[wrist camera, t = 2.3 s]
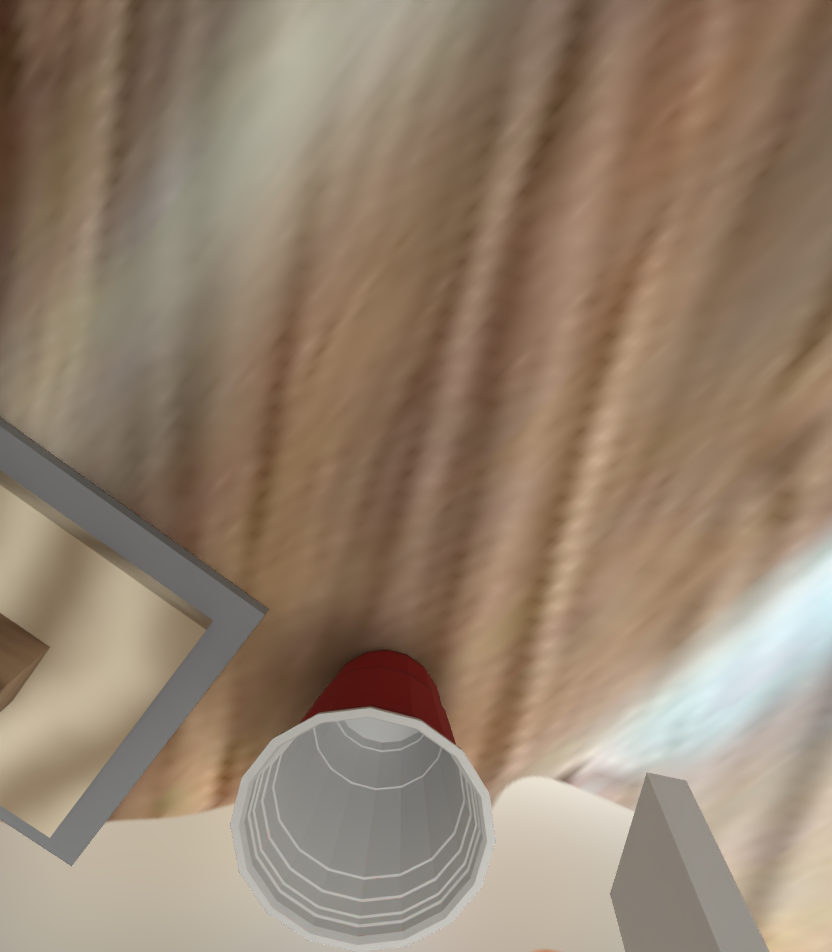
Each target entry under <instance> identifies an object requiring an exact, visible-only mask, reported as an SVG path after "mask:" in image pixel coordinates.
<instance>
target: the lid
mask: <svg viewBox="0 0 832 952" xmlns="http://www.w3.org/2000/svg"><path fill="white" fill-rule="evenodd" d="M212 622H213V620H212V619H210V618H209V617H207V616H206V615H205V614H203V613H202V612H200V611H199V610H197V609H196V608H195V607H193V606H192V605H190V604H189V603H188V602H186V601H185V600H183V599H182V598H180V597H179V596H178V595H176V594H175V593H173V592H172V591H171V590H169V589H168V588H166V587H165V586H163V585H162V584H161V583H159V582H158V581H156V580H155V579H154V578H152V577H151V576H149V575H148V574H146V573H145V572H144V571H142V570H141V569H139V568H138V567H137V566H135V565H134V564H132V563H131V562H130V561H128V560H127V559H125V558H124V557H122V556H121V555H120V554H118V553H117V552H115V551H114V550H113V549H111V548H110V547H108V546H107V545H105V544H104V543H103V542H101V541H100V540H98V539H97V538H96V537H94V536H93V535H91V534H90V533H88V532H87V531H86V530H84V529H83V528H81V527H80V526H79V525H77V524H76V523H74V522H73V521H71V520H70V519H69V518H67V517H66V516H64V515H63V514H62V513H60V512H59V511H57V510H56V509H55V508H53V507H52V506H50V505H49V504H47V503H46V502H45V501H43V500H42V499H40V498H39V497H38V496H36V495H35V494H33V493H32V492H30V491H29V490H28V489H26V488H25V487H23V486H22V485H21V484H19V483H18V482H16V481H15V480H13V479H12V478H11V477H9V476H8V475H6V474H5V473H4V472H2V471H1V470H0V806H2V807H3V808H5V809H6V810H8V811H10V812H11V813H13V814H14V815H16V816H17V817H19V818H20V819H22V820H23V821H25V822H26V823H28V824H29V825H31V826H32V827H34V828H35V829H37V830H38V831H40V832H41V833H43V834H45V835H46V836H48V837H49V838H50V837H51V836H52V834H53V833H54V832H55V830H56V829H57V828H58V826H59V825H60V824H61V822H62V821H63V820H64V818H65V817H66V816H67V814H68V813H69V812H70V810H71V809H72V808H73V806H74V805H75V804H76V802H77V801H78V800H79V798H80V797H81V796H82V795H83V793H84V792H85V791H86V789H87V788H88V787H89V785H90V784H91V783H92V781H93V780H94V779H95V777H96V776H97V775H98V773H99V772H100V771H101V769H102V768H103V767H104V765H105V764H106V763H107V761H108V760H109V759H110V757H111V756H112V755H113V753H114V752H115V751H116V749H117V748H118V747H119V745H120V744H121V743H122V741H123V740H124V739H125V737H126V736H127V735H128V733H129V732H130V731H131V729H132V728H133V727H134V725H135V724H136V723H137V721H138V720H139V719H140V717H141V716H142V715H143V713H144V712H145V711H146V709H147V708H148V707H149V706H150V704H151V703H152V702H153V700H154V699H155V698H156V696H157V695H158V694H159V692H160V691H161V690H162V688H163V687H164V686H165V684H166V683H167V682H168V680H169V679H170V678H171V676H172V675H173V674H174V672H175V671H176V670H177V668H178V667H179V666H180V664H181V663H182V662H183V660H184V659H185V658H186V656H187V655H188V654H189V652H190V651H191V650H192V648H193V647H194V646H195V644H196V643H197V642H198V640H199V639H200V638H201V636H202V635H203V634H204V632H205V631H206V630H207V628H208V627H209V626H210V624H211V623H212Z"/></svg>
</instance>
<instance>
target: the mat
mask: <svg viewBox="0 0 832 952" xmlns="http://www.w3.org/2000/svg"><path fill="white" fill-rule="evenodd" d="M0 470H1V471H2V472H4V473H5V474H6V475H8V476H9V477H11V478H12V479H13V480H15V481H16V482H18V483H19V484H21V485H22V486H23V487H25V488H26V489H28V490H29V491H30V492H32V493H33V494H35V495H36V496H38V497H39V498H40V499H42V500H43V501H45V502H46V503H47V504H49V505H50V506H52V507H53V508H55V509H56V510H57V511H59V512H60V513H62V514H63V515H64V516H66V517H67V518H69V519H70V520H71V521H73V522H74V523H76V524H77V525H79V526H80V527H81V528H83V529H84V530H86V531H87V532H88V533H90V534H91V535H93V536H94V537H96V538H97V539H98V540H100V541H101V542H103V543H104V544H105V545H107V546H108V547H110V548H111V549H113V550H114V551H115V552H117V553H118V554H120V555H121V556H122V557H124V558H125V559H127V560H128V561H130V562H131V563H132V564H134V565H135V566H137V567H138V568H139V569H141V570H142V571H144V572H145V573H146V574H148V575H149V576H151V577H152V578H154V579H155V580H156V581H158V582H159V583H161V584H162V585H163V586H165V587H166V588H168V589H169V590H171V591H172V592H173V593H175V594H176V595H178V596H179V597H180V598H182V599H183V600H185V601H186V602H188V603H189V604H190V605H192V606H193V607H195V608H196V609H197V610H199V611H200V612H202V613H203V614H205V615H206V616H207V617H209V618H210V619H212V620H213V622H212V623H211V624H210V626H209V627H208V628H207V630H206V631H205V632H204V634H203V635H202V636H201V638H200V639H199V640H198V642H197V643H196V644H195V646H194V647H193V648H192V650H191V651H190V652H189V654H188V655H187V656H186V658H185V659H184V660H183V662H182V663H181V664H180V666H179V667H178V668H177V670H176V671H175V672H174V674H173V675H172V676H171V678H170V679H169V680H168V682H167V683H166V684H165V686H164V687H163V688H162V690H161V691H160V692H159V694H158V695H157V696H156V698H155V699H154V700H153V702H152V703H151V704H150V706H149V707H148V708H147V709H146V711H145V712H144V713H143V715H142V716H141V717H140V719H139V720H138V721H137V723H136V724H135V725H134V727H133V728H132V729H131V731H130V732H129V733H128V735H127V736H126V737H125V739H124V740H123V741H122V743H121V744H120V745H119V747H118V748H117V749H116V751H115V752H114V753H113V755H112V756H111V757H110V759H109V760H108V761H107V763H106V764H105V765H104V767H103V768H102V769H101V771H100V772H99V773H98V775H97V776H96V777H95V779H94V780H93V781H92V783H91V784H90V785H89V787H88V788H87V789H86V791H85V792H84V793H83V795H82V796H81V797H80V798H79V800H78V801H77V802H76V804H75V805H74V806H73V808H72V809H71V810H70V812H69V813H68V814H67V816H66V817H65V818H64V820H63V821H62V822H61V824H60V825H59V826H58V828H57V829H56V830H55V832H54V833H53V834H52V836H51V837H50V838H49V837H48V836H46V835H45V834H43V833H41V832H40V831H38V830H37V829H35V828H34V827H32V826H31V825H29V824H28V823H26V822H25V821H23V820H22V819H20V818H19V817H17V816H16V815H14V814H13V813H11V812H10V811H8V810H6V809H5V808H3V807H2V806H0V820H2V821H3V822H5V823H6V824H8V825H9V826H11V827H13V828H14V829H16V830H17V831H19V832H20V833H22V834H23V835H25V836H26V837H28V838H30V839H31V840H32V841H34V842H36V843H37V844H38V845H40V846H42V847H43V848H45V849H46V850H48V851H49V852H51V853H52V854H54V855H55V856H57V857H58V858H60V859H62V860H63V861H65V862H66V863H67V864H69V865H70V866H72V865H73V864H74V862H75V861H76V860H77V858H78V857H79V856H80V855H81V853H82V852H83V851H84V849H85V848H86V847H87V845H88V844H89V843H90V841H91V840H92V839H93V838H94V836H95V835H96V834H97V832H98V831H99V830H100V829H101V827H102V826H103V825H104V823H105V822H106V821H107V820H108V818H109V817H110V816H111V814H112V813H113V812H114V810H115V809H116V808H117V807H118V805H119V804H120V803H121V801H122V800H123V799H124V797H125V796H126V795H127V794H128V792H129V791H130V790H131V788H132V787H133V786H134V784H135V783H136V782H137V781H138V779H139V778H140V777H141V775H142V774H143V773H144V771H145V770H146V769H147V768H148V766H149V765H150V764H151V762H152V761H153V760H154V758H155V757H156V756H157V755H158V753H159V752H160V751H161V749H162V748H163V747H164V745H165V744H166V743H167V742H168V740H169V739H170V738H171V736H172V735H173V734H174V732H175V731H176V730H177V729H178V727H179V726H180V725H181V723H182V722H183V721H184V719H185V718H186V717H187V716H188V714H189V713H190V712H191V710H192V709H193V708H194V707H195V705H196V704H197V703H198V701H199V700H200V699H201V697H202V696H203V695H204V694H205V692H206V691H207V690H208V688H209V687H210V686H211V684H212V683H213V682H214V681H215V679H216V678H217V677H218V675H219V674H220V673H221V671H222V670H223V669H224V668H225V666H226V665H227V664H228V662H229V661H230V660H231V658H232V657H233V656H234V655H235V653H236V652H237V651H238V649H239V648H240V647H241V645H242V644H243V643H244V642H245V640H246V639H247V638H248V636H249V635H250V634H251V632H252V631H253V630H254V629H255V627H256V626H257V625H258V623H259V622H260V621H261V619H262V618H263V617H264V616H265V614H266V612H267V611H268V608H266V607H265V606H263V605H262V604H261V603H259V602H258V601H256V600H255V599H254V598H252V597H251V596H249V595H248V594H247V593H245V592H244V591H242V590H241V589H240V588H238V587H237V586H235V585H234V584H233V583H231V582H230V581H228V580H227V579H226V578H224V577H223V576H221V575H220V574H219V573H217V572H216V571H214V570H213V569H212V568H210V567H209V566H207V565H206V564H205V563H203V562H202V561H200V560H199V559H198V558H196V557H195V556H193V555H192V554H191V553H189V552H188V551H186V550H185V549H184V548H182V547H181V546H179V545H178V544H177V543H175V542H174V541H172V540H171V539H170V538H168V537H167V536H165V535H164V534H163V533H161V532H160V531H158V530H157V529H156V528H154V527H153V526H151V525H150V524H149V523H147V522H146V521H144V520H143V519H142V518H140V517H139V516H137V515H136V514H135V513H133V512H132V511H130V510H129V509H128V508H126V507H125V506H123V505H122V504H121V503H119V502H118V501H116V500H115V499H114V498H112V497H111V496H109V495H108V494H107V493H105V492H104V491H102V490H101V489H100V488H98V487H97V486H95V485H94V484H93V483H91V482H90V481H88V480H87V479H86V478H84V477H83V476H81V475H80V474H79V473H77V472H76V471H74V470H73V469H72V468H70V467H69V466H67V465H66V464H65V463H63V462H62V461H60V460H59V459H58V458H56V457H55V456H53V455H52V454H51V453H49V452H48V451H46V450H45V449H44V448H42V447H41V446H39V445H38V444H37V443H35V442H34V441H32V440H31V439H30V438H28V437H27V436H25V435H24V434H23V433H21V432H20V431H18V430H17V429H16V428H14V427H13V426H11V425H10V424H9V423H7V422H6V421H4V420H3V419H2V418H0Z"/></svg>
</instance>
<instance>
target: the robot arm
mask: <svg viewBox="0 0 832 952" xmlns="http://www.w3.org/2000/svg"><path fill="white" fill-rule="evenodd" d="M610 895H611V899H612V903H613V906H614V910H615V914H616V918H617V922H618V925H619V929H620V933H621V936H622V940H623V944H624V948H625V951H626V952H769V950H768V948H767V946H766V944H765V942H764V940H763V938H762V935H761V933H760V931H759V929H758V927H757V925H756V923H755V921H754V919H753V917H752V915H751V913H750V911H749V909H748V907H747V905H746V903H745V901H744V898H743V896H742V894H741V892H740V890H739V888H738V886H737V884H736V882H735V880H734V878H733V876H732V874H731V872H730V870H729V868H728V866H727V864H726V862H725V859H724V857H723V855H722V853H721V851H720V849H719V847H718V845H717V843H716V841H715V839H714V837H713V835H712V833H711V831H710V829H709V827H708V825H707V823H706V820H705V818H704V816H703V814H702V812H701V810H700V808H699V806H698V804H697V802H696V800H695V798H694V796H693V794H692V792H691V790H690V788H689V786H688V783H687V781H685V780H680V779H676V778H671V777H666V776H661V775H657V774H652V773H646V777H645V780H644V783H643V787H642V790H641V793H640V797H639V800H638V803H637V807H636V810H635V813H634V816H633V820H632V823H631V826H630V830H629V833H628V837H627V840H626V843H625V846H624V850H623V853H622V856H621V860H620V863H619V866H618V870H617V873H616V876H615V879H614V883H613V886H612V889H611V893H610Z"/></svg>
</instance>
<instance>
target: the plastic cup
mask: <svg viewBox="0 0 832 952" xmlns="http://www.w3.org/2000/svg"><path fill="white" fill-rule="evenodd" d="M230 827H231V832H232V838H233V843H234V848H235V854H236V859H237V864H238V869H239V873H240V874H241V876H242V877H243V879H244V880H245V882H246V883H247V885H248V886H249V888H250V889H251V891H252V892H253V894H254V895H255V897H256V898H257V899H258V901H259V902H260V904H261V905H262V907H263V908H264V910H265V911H266V912H267V913H268V914H270V915H271V916H273V917H274V918H275V919H277V920H278V921H280V922H281V923H283V924H284V925H286V926H287V927H289V928H290V929H291V930H293V931H295V932H296V933H297V934H299V935H300V936H302V937H303V938H305V939H306V940H308V941H312V942H317V943H321V944H325V945H329V946H333V947H337V948H342V949H345V950H349V951H353V952H363V951H371V950H381V949H390V948H398V947H406V946H408V945H411V944H413V943H415V942H416V941H418V940H420V939H422V938H424V937H426V936H428V935H430V934H432V933H434V932H436V931H438V930H440V929H442V928H444V927H446V926H448V925H449V924H451V923H452V922H453V921H454V919H455V918H456V917H457V916H458V915H459V914H460V912H461V911H462V910H463V909H464V908H465V906H466V905H467V904H468V903H469V902H470V901H471V899H472V898H473V897H474V896H475V895H476V894H477V892H478V891H479V890H480V889H481V888H482V885H483V882H484V879H485V876H486V872H487V869H488V866H489V862H490V859H491V856H492V852H493V850H494V846H495V843H496V839H495V832H494V824H493V817H492V809H491V801H490V794H489V792H488V791H487V789H486V787H485V786H484V784H483V783H482V781H481V779H480V778H479V776H478V774H477V773H476V771H475V770H474V768H473V766H472V765H471V763H470V761H469V760H468V758H467V757H466V755H465V753H464V752H463V750H462V749H461V748H460V747H458V746H457V745H456V743H455V740H454V737H453V734H452V731H451V727H450V724H449V721H448V718H447V715H446V712H445V710H444V708H443V707H442V705H441V701H440V697H439V694H438V690H437V687H436V686H435V684H434V682H433V681H432V679H431V678H430V676H429V674H428V673H427V671H426V670H425V668H424V667H423V666H422V665H420V664H419V663H418V662H416V661H415V660H413V659H412V658H411V657H409V656H408V655H405V654H401V653H397V652H394V651H390V650H382V651H373V652H367V653H365V654H363V655H361V656H359V657H357V658H355V659H353V660H351V661H350V662H349V663H347V664H346V665H345V666H344V667H343V668H342V670H341V671H340V672H339V673H338V675H337V676H336V677H335V678H334V680H333V681H332V682H331V683H330V684H329V686H328V687H327V688H326V689H325V691H324V692H323V693H322V694H321V696H320V697H319V698H318V699H317V701H316V702H315V703H314V705H313V706H312V707H311V709H310V710H309V711H308V713H307V714H306V716H305V717H304V718H303V720H302V721H301V722H300V723H299V724H298V725H296V726H294V727H292V728H291V729H289V730H287V731H285V732H283V733H281V734H280V735H278V736H276V737H275V738H273V739H272V740H271V741H270V743H269V744H268V745H267V746H266V748H265V749H264V750H263V752H262V753H261V754H260V755H259V757H258V758H257V759H256V760H255V762H254V763H253V764H252V766H251V767H250V768H249V769H248V771H247V772H246V773H245V775H244V776H243V777H242V778H241V782H240V786H239V791H238V795H237V799H236V803H235V807H234V811H233V815H232V819H231V823H230Z"/></svg>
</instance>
